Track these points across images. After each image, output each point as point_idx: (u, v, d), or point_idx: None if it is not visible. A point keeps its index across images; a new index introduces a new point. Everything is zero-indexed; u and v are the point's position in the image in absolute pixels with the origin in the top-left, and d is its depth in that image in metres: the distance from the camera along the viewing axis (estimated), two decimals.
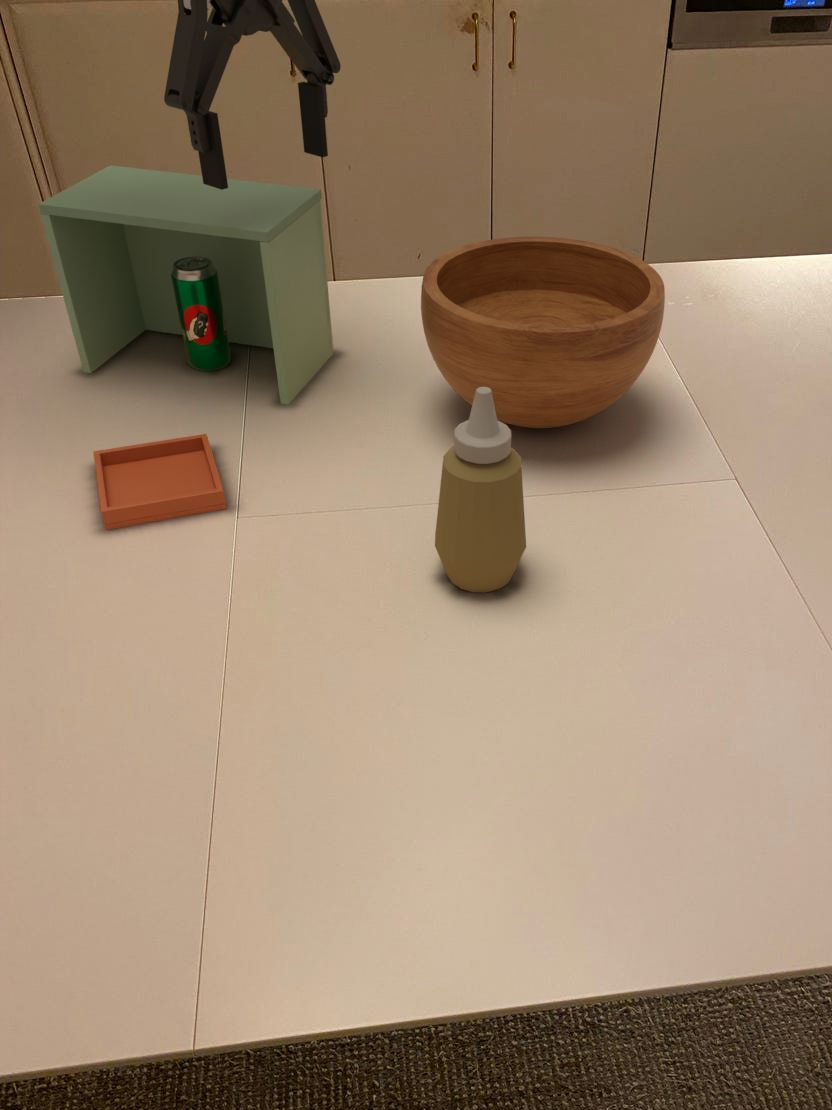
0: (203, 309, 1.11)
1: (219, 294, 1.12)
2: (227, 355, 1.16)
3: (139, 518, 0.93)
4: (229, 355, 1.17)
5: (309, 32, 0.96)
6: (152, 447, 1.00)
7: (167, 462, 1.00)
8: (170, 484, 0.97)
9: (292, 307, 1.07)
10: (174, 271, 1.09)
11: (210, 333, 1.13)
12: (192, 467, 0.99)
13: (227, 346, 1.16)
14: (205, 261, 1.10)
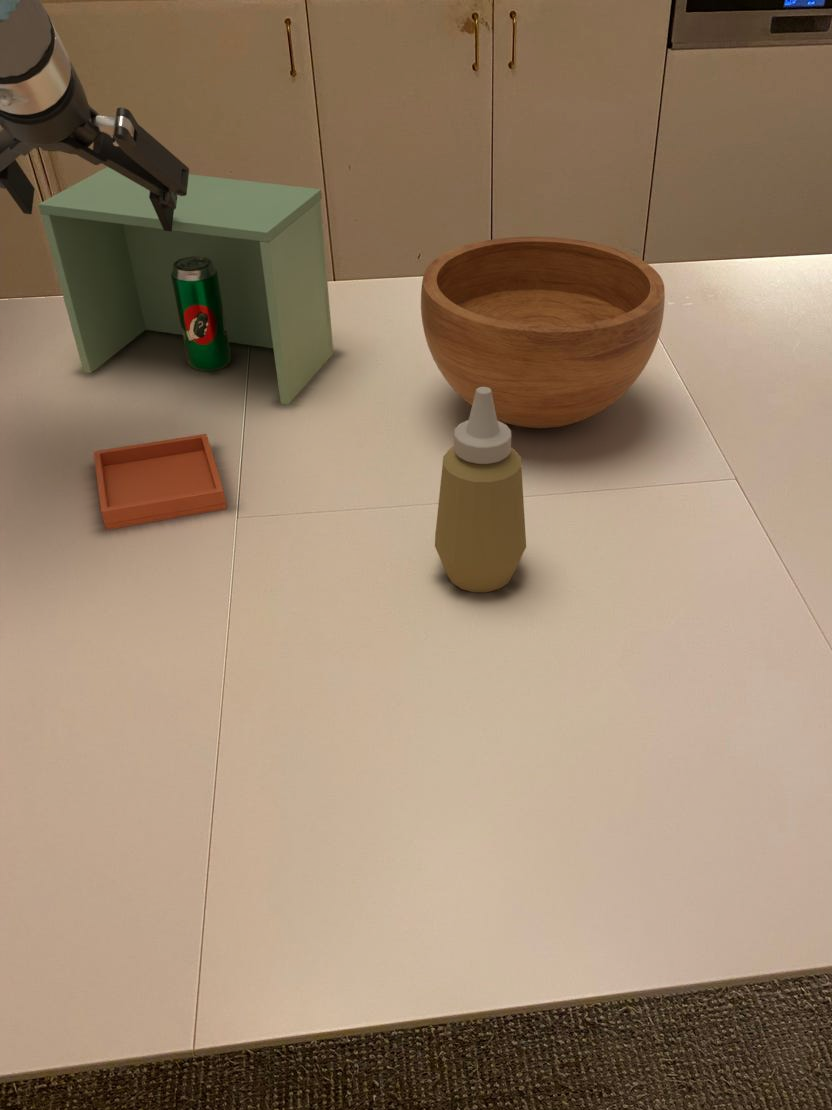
0: (203, 309, 1.11)
1: (219, 294, 1.12)
2: (227, 355, 1.16)
3: (139, 518, 0.93)
4: (229, 355, 1.17)
5: None
6: (152, 447, 1.00)
7: (167, 462, 1.00)
8: (170, 484, 0.97)
9: (292, 307, 1.07)
10: (174, 271, 1.09)
11: (210, 333, 1.13)
12: (192, 467, 0.99)
13: (227, 346, 1.16)
14: (205, 261, 1.10)
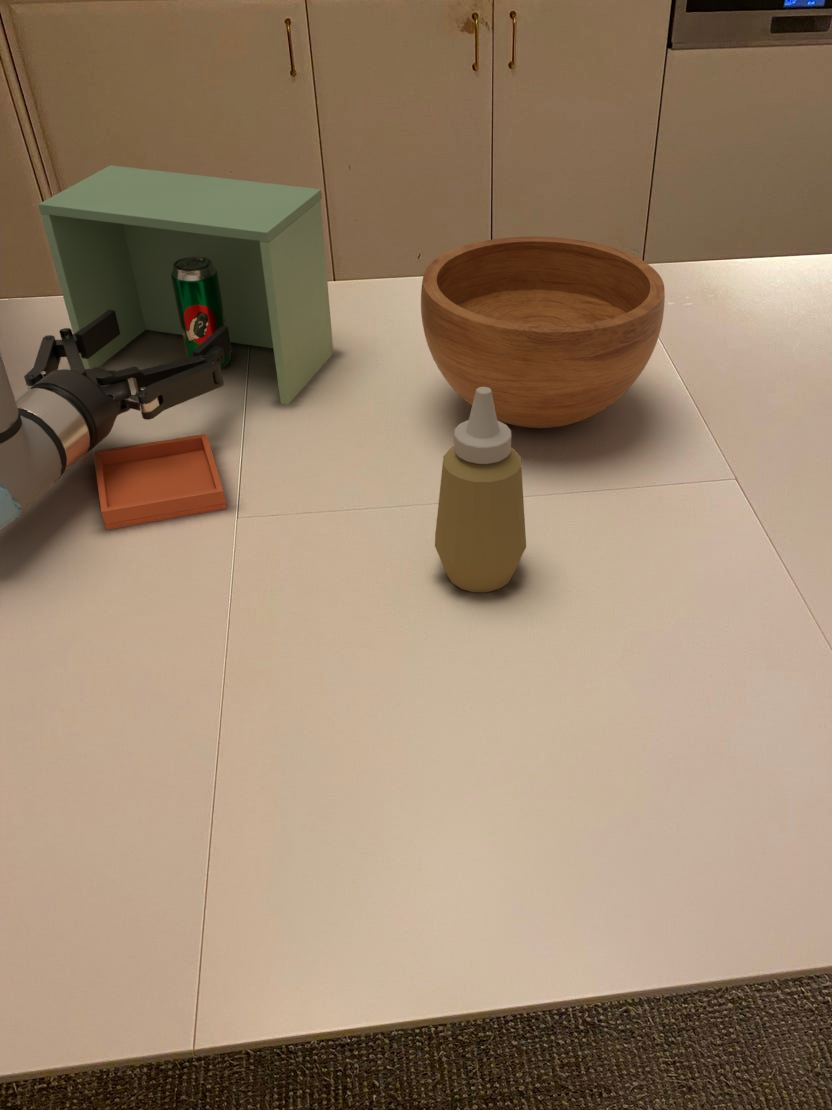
0: (203, 309, 1.11)
1: (219, 294, 1.12)
2: (227, 355, 1.16)
3: (139, 518, 0.93)
4: (229, 355, 1.17)
5: None
6: (152, 447, 1.00)
7: (167, 462, 1.00)
8: (170, 484, 0.97)
9: (292, 307, 1.07)
10: (174, 271, 1.09)
11: (210, 333, 1.13)
12: (192, 467, 0.99)
13: None
14: (205, 261, 1.10)
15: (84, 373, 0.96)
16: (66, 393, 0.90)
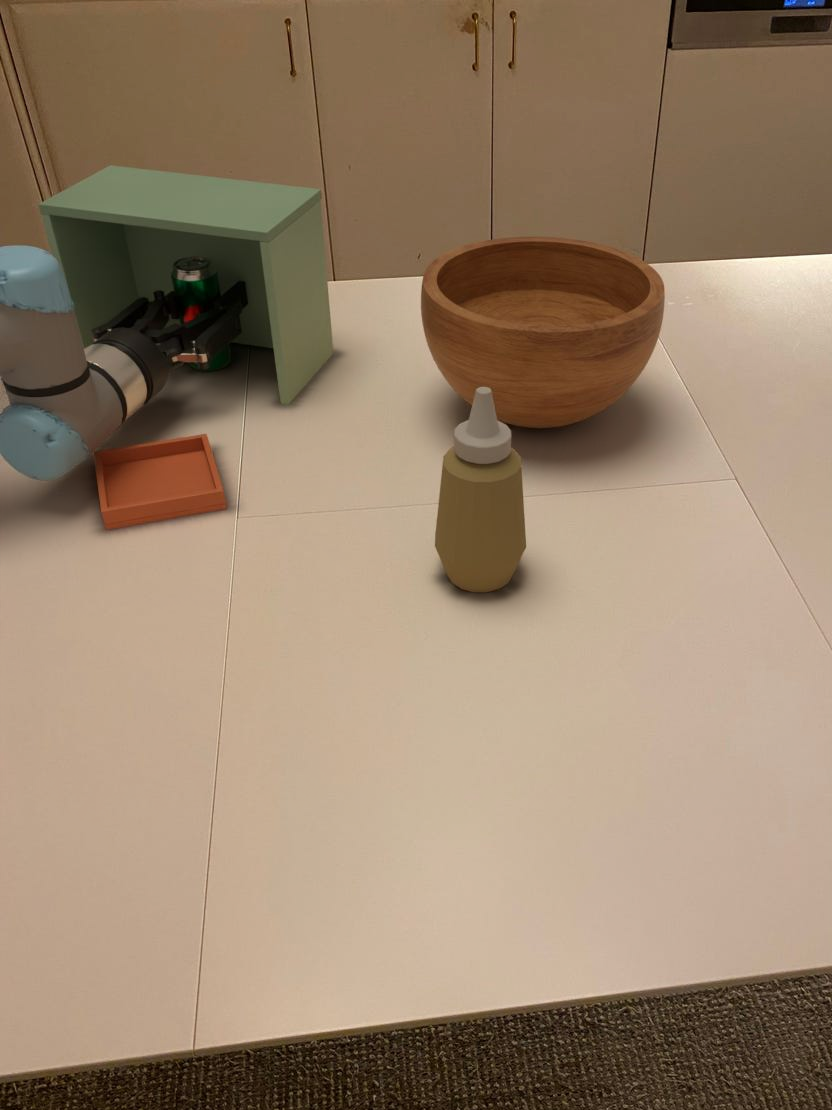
0: (203, 309, 1.11)
1: (219, 294, 1.12)
2: (227, 355, 1.16)
3: (139, 518, 0.93)
4: (229, 355, 1.17)
5: None
6: (152, 447, 1.00)
7: (167, 462, 1.00)
8: (170, 484, 0.97)
9: (292, 307, 1.07)
10: (174, 271, 1.09)
11: None
12: (192, 467, 0.99)
13: (227, 346, 1.16)
14: (205, 261, 1.10)
15: None
16: (125, 348, 0.98)
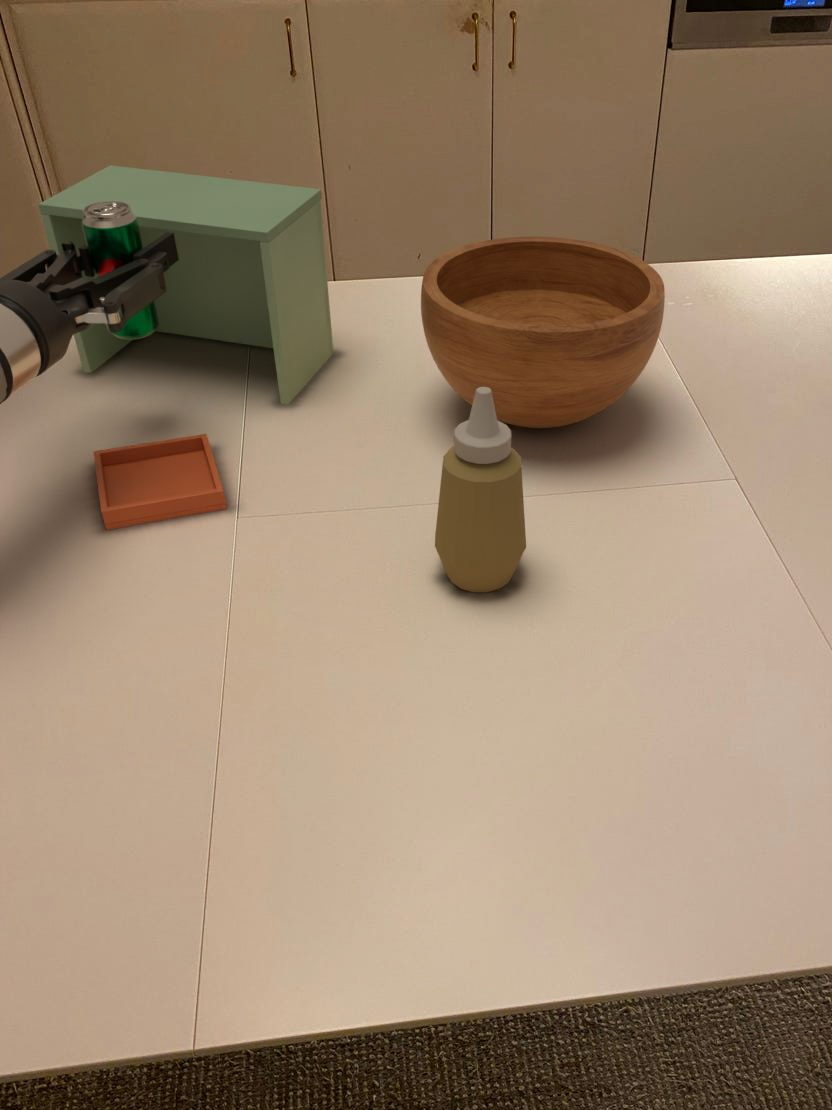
0: (121, 264, 0.93)
1: (140, 246, 0.94)
2: (153, 320, 0.98)
3: (139, 518, 0.93)
4: (156, 320, 0.99)
5: None
6: (152, 447, 1.00)
7: (167, 462, 1.00)
8: (170, 484, 0.97)
9: (292, 307, 1.07)
10: (84, 217, 0.91)
11: None
12: (192, 467, 0.99)
13: (153, 309, 0.98)
14: (122, 206, 0.93)
15: (36, 288, 0.86)
16: (12, 304, 0.80)
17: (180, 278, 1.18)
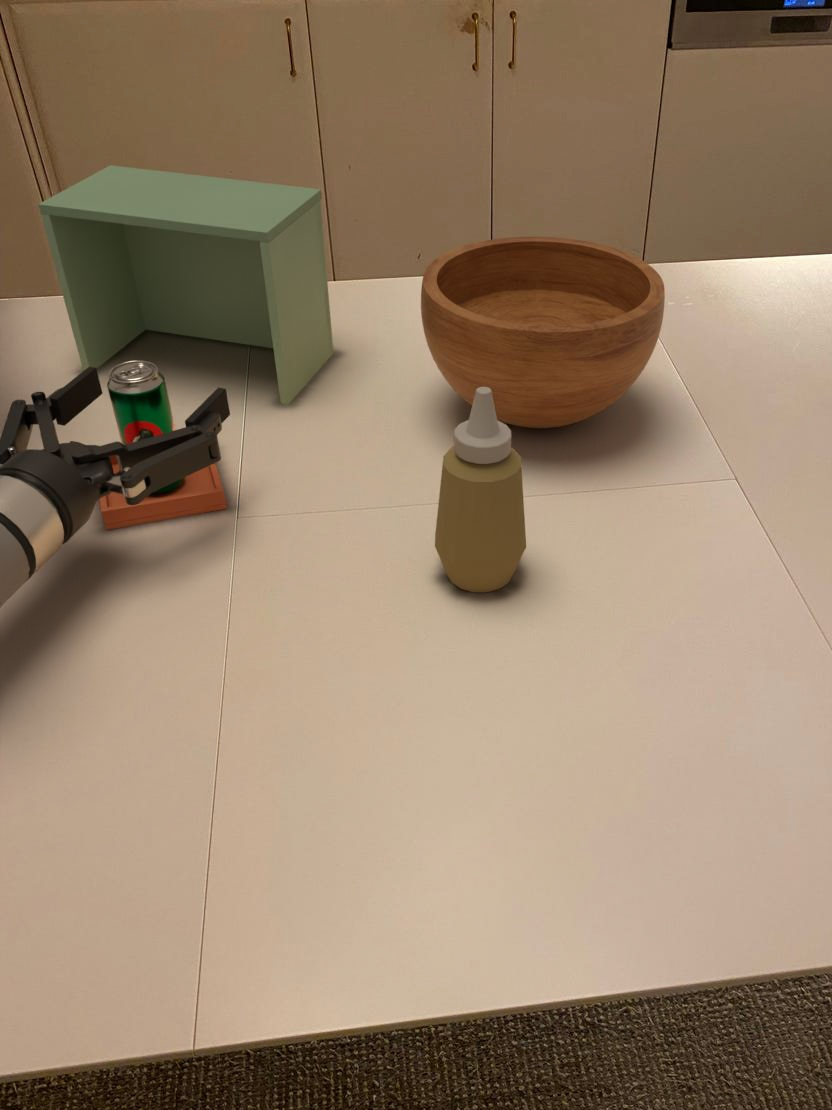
0: (147, 426, 0.90)
1: (167, 406, 0.91)
2: None
3: (139, 518, 0.93)
4: None
5: None
6: None
7: None
8: None
9: (292, 307, 1.07)
10: (110, 381, 0.89)
11: None
12: None
13: None
14: (149, 367, 0.90)
15: (58, 450, 0.82)
16: (35, 480, 0.77)
17: (180, 278, 1.18)
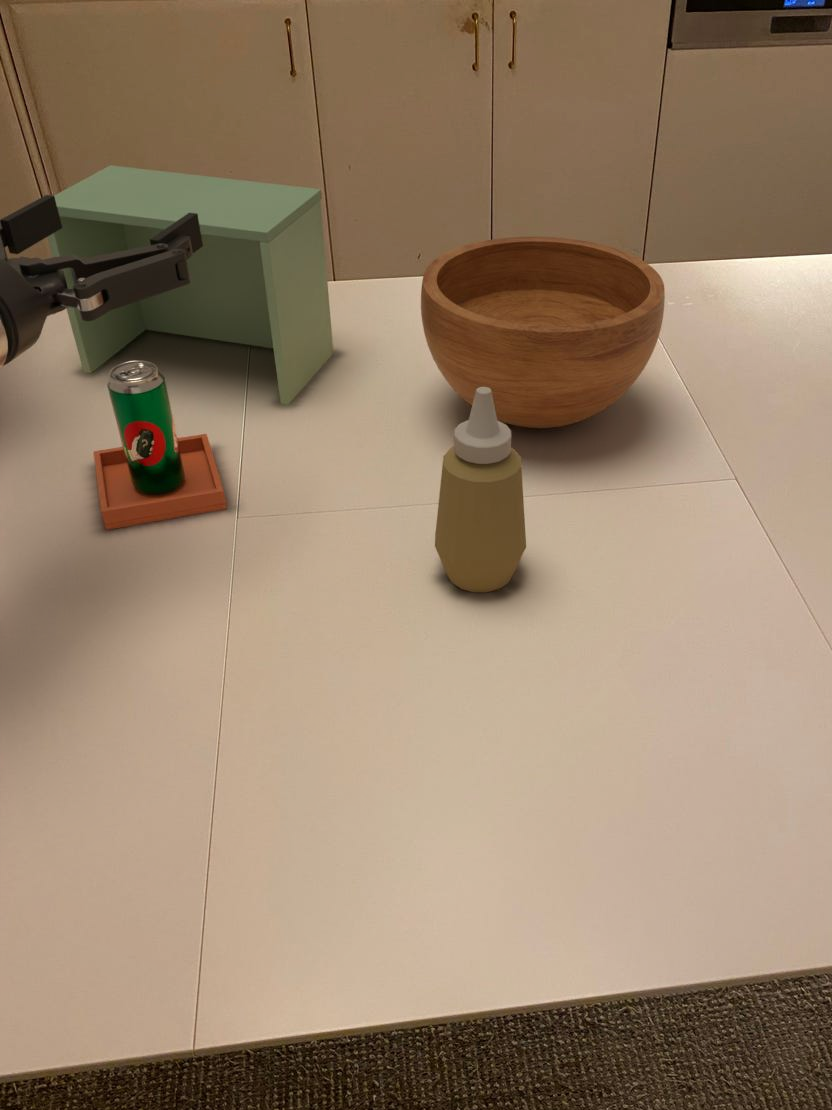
0: (148, 426, 0.90)
1: (167, 406, 0.91)
2: (179, 475, 0.96)
3: (139, 518, 0.93)
4: (182, 474, 0.96)
5: None
6: None
7: None
8: None
9: (292, 307, 1.07)
10: (110, 381, 0.89)
11: (157, 452, 0.92)
12: (192, 467, 0.99)
13: (179, 465, 0.95)
14: (149, 367, 0.90)
15: (4, 260, 0.73)
16: None
17: None
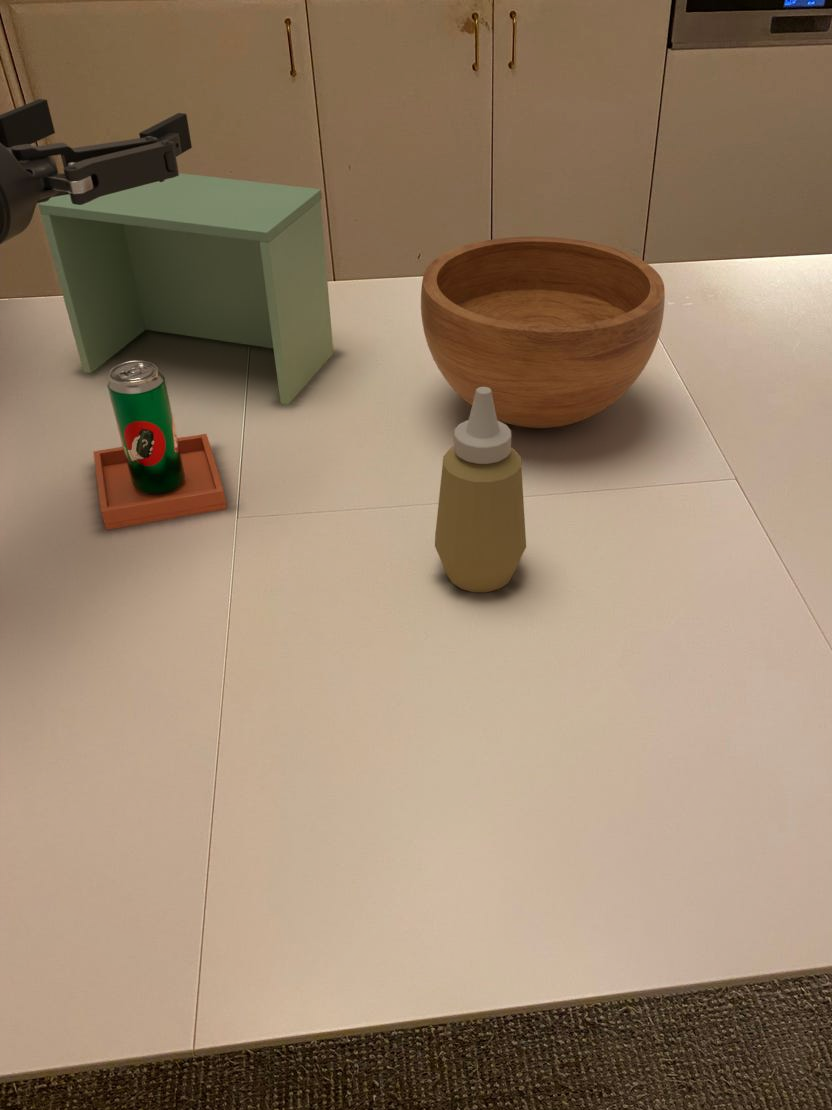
0: (148, 426, 0.90)
1: (167, 406, 0.91)
2: (179, 475, 0.96)
3: (139, 518, 0.93)
4: (182, 474, 0.96)
5: None
6: None
7: None
8: None
9: (292, 307, 1.07)
10: (110, 381, 0.89)
11: (157, 452, 0.92)
12: (192, 467, 0.99)
13: (179, 465, 0.95)
14: (149, 367, 0.90)
15: None
16: None
17: (180, 278, 1.18)
